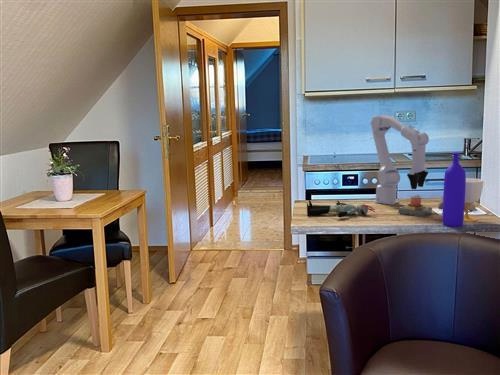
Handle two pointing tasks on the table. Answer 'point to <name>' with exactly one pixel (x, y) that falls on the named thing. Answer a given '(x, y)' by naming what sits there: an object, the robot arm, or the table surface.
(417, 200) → the can
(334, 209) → the toy
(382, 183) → the robot arm
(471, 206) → the stone
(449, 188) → the bottle
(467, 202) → the cup
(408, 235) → the table surface
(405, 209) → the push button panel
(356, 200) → the table surface
